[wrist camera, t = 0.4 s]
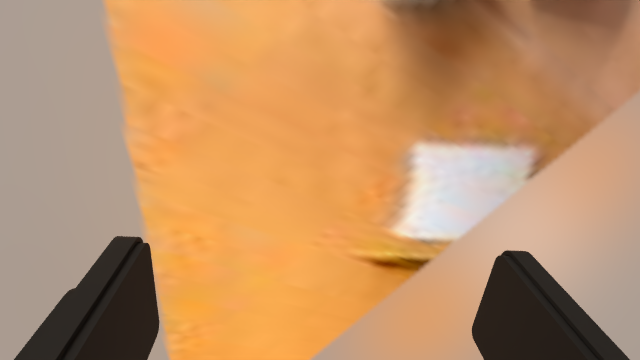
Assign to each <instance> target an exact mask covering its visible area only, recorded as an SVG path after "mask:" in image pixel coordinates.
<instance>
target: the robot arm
mask: <svg viewBox="0 0 640 360" xmlns="http://www.w3.org/2000/svg"><path fill="white" fill-rule="evenodd" d="M158 330H159V316H158V308H157V300H156V291H155V283H154V275H153V267H152V259H151V251H150V246H149V244H148V243H143V240H142V239H141V238H140V237H123V236H117V237H115V238H114V239H113V240H112V241H111V242H110V244H109V245H108V246H107V248H106V249H105V250H104V252H103V253H102V254H101V256H100V257H99V258H98V260H97V261H96V262H95V263H94V265H93V266H92V267H91V269H90V270H89V271H88V273H87V274H86V275H85V277H84V278H83V279H82V281H81V282H80V283H79V284H78V286H77V287H76V288H74V289H71V290H69V291H68V292H67V293H66V294H65V295H64V296H63V298H62V299H61V300H60V302H59V303H58V304H57V305H56V307H55V308H54V309H53V311H52V312H51V313H50V314H49V316H48V317H47V318H46V320H45V321H44V322H43V323H42V325H41V326H40V327H39V328H38V330H37V331H36V332H35V334H34V335H33V336H32V337H31V339H30V340H29V341H28V342H27V344H26V345H25V347H23V349H22V350H21V351H20V353H19V354H18V355H17V356H16V358H15V359H14V360H147V359H148V356H149V354H150V352H151V349H152V347H153V344H154V342H155V339H156V337H157V334H158ZM472 336H473V339H474V341H475V343H476V345H477V347H478V349H479V351H480V353H481V354H482V356H483V358H484V360H629V358H628V357H627V356H626V355H625V354H624V353H623V352H622V351H621V350H620V349H619V348H618V347H617V345H615V343H614V342H613V341H612V340H611V339H610V338H609V337H608V336H607V335H606V334H605V333H604V332H603V331H602V330H601V328H600V327H599V326H598V325H597V324H596V323H595V322H594V321H593V320H592V319H591V318H590V317H589V316H588V315H587V314H586V312H585V311H584V310H583V309H582V308H581V307H580V306H579V305H578V304H577V303H576V302H575V301H574V300H573V299H572V298H571V296H570V295H569V294H568V293H567V292H566V291H565V290H564V289H563V288H562V287H561V286H560V285H559V284H558V283H557V282H556V281H555V280H554V278H553V277H552V276H551V275H550V274H549V273H548V272H547V271H546V270H545V269H544V268H543V267H542V266H541V265H540V263H539V262H538V261H537V260H536V259H535V258H534V257H533V256H532V255H531V254H530V253H529V252H526V251H504V252H503V253H502V255H501V256H498V257H497V258H496V260H495V262H494V265H493V268H492V271H491V274H490V277H489V280H488V282H487V286H486V288H485V291H484V294H483V297H482V300H481V303H480V306H479V309H478V311H477V314H476V317H475V320H474V323H473V326H472Z"/></svg>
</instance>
